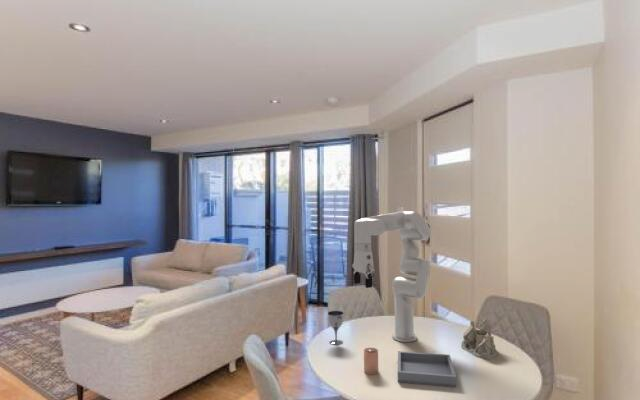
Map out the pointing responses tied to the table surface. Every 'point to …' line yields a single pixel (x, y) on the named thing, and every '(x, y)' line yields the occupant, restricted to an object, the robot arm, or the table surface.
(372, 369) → the cup
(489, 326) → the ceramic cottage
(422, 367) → the tray
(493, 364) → the table surface
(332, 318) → the wine glass
